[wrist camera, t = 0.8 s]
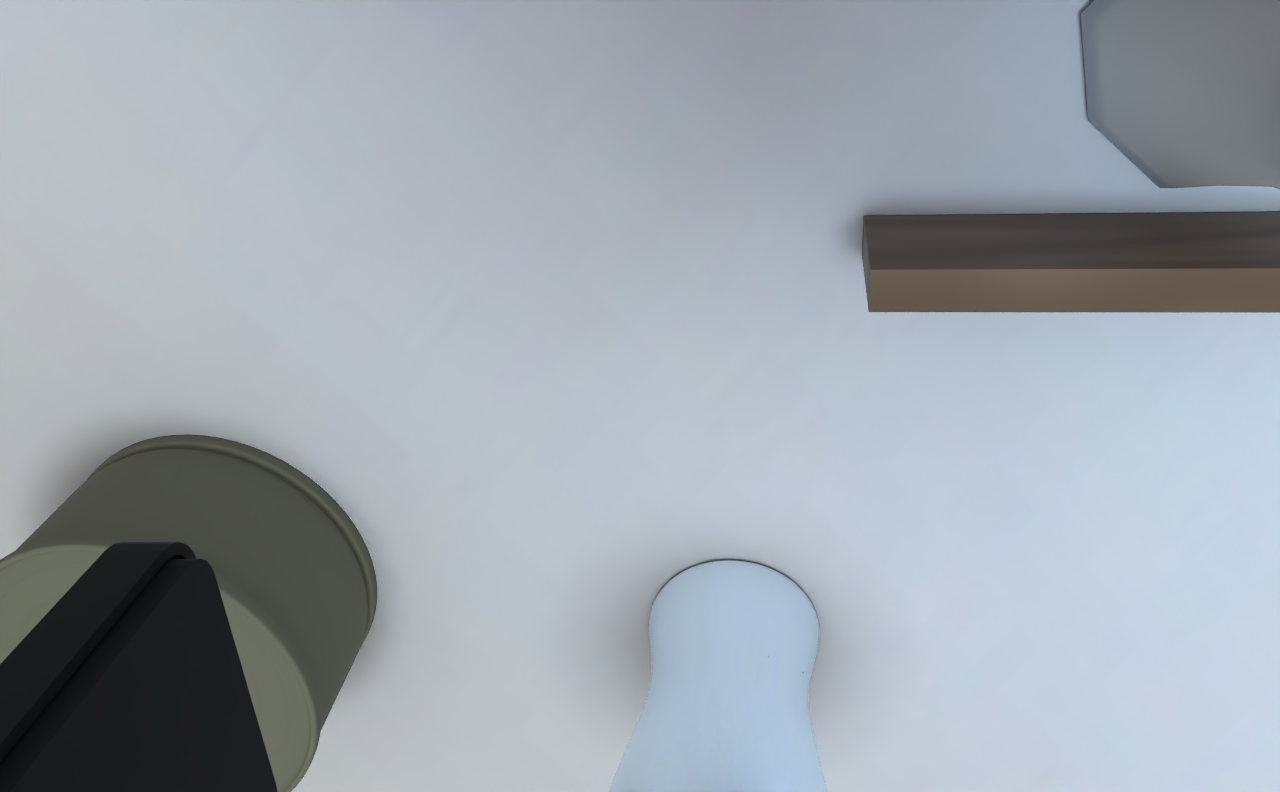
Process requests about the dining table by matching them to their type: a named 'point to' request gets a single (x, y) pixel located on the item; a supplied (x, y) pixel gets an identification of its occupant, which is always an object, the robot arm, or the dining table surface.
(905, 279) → the chute
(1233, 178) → the flask
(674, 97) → the dining table surface
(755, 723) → the beer glass
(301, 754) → the can
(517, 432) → the dining table surface
